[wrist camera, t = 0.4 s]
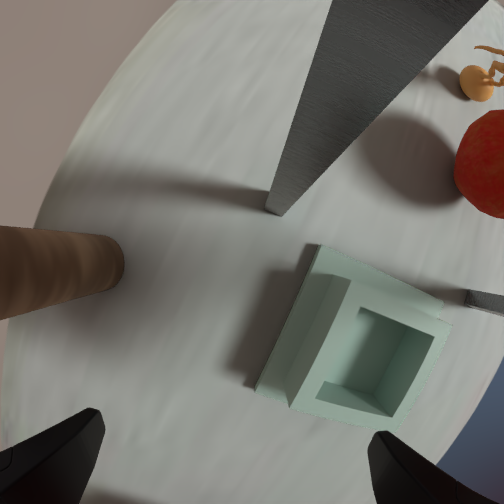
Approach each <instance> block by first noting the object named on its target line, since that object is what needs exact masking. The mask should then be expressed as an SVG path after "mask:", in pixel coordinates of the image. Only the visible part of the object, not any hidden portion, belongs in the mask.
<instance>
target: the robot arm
mask: <svg viewBox="0 0 504 504" xmlns="http://www.w3.org/2000/svg"><path fill="white" fill-rule="evenodd" d="M104 434H105V425H104V421H103V418H102V415H101V412H100V411H99V410H97V409H93V408H86V409H84V410H83V411H81V412H79V413H77V414H75V415H73V416H71V417H70V418H68V419H66V420H64V421H62V422H60V423H58V424H56V425H54V426H52V427H50V428H48V429H47V430H45V431H43V432H41V433H39V434H37V435H35V436H33V437H31V438H29V439H27V440H25V441H23V442H20V443H18V444H16V445H14V446H13V447H10V448H8V449H6V450H3V451H1V452H0V504H79V502H80V500H81V497H82V495H83V492H84V490H85V488H86V485H87V483H88V481H89V478H90V476H91V474H92V472H93V469H94V467H95V464H96V460H97V457H98V454H99V450H100V447H101V444H102V440H103V437H104ZM368 459H369V466H370V472H371V480H372V486H373V491H374V495H375V499H376V502H377V504H499V503H497V502H494V501H493V500H490V499H488V498H486V497H484V496H482V495H480V494H478V493H477V492H475V491H473V490H471V489H470V488H468V487H466V486H465V485H463V484H462V483H460V482H459V481H456V479H454V478H453V477H451V476H450V475H448V474H447V473H446V472H444V471H443V470H441V469H440V468H438V467H437V466H436V465H434V464H433V463H431V462H430V461H428V460H427V459H426V458H424V457H423V456H422V455H420V454H419V453H417V452H416V451H415V450H413V449H412V448H411V447H409V446H408V445H406V444H405V443H404V442H402V441H401V440H400V439H398V438H397V437H396V436H394V435H393V434H392V433H391V432H389V431H387V430H385V431H378V432H376V433H375V434H374V436H373V438H372V440H371V442H370V444H369V446H368Z"/></svg>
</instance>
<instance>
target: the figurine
mask: <svg viewBox="0 0 504 504" xmlns="http://www.w3.org/2000/svg"><path fill="white" fill-rule="evenodd" d="M476 48H478V49H484V50H487V51H489V52H492V53H496V54H501V55H503V56H504V51H503V50H500V49H494V48H492V47H489V46H475V48H474V49H476ZM495 69H496V70H498V71H499V72H501V73H503V74H504V63H500V62H498V61H493V63H492V65H491V68H490V69H489V72H488V73H489V74H488V73H487V72H486V71H485V70H484V69H483V68H481V67H479V66H475V65H470V66H467V67H465V68H464V69H463V70H462V72H461V74H460V85H461V88H462V90H463V92H464V93H465V94H466V95H467V96H468V97H469V98H470V99H472V100H474V101H478V102H483V101H486V100H488V99H489V98H490V97H491V96H492V94H493V90H494V86H497V87H501V86H504V76H503V77H502V78H501V79H500V82H499V83H498V82H495V81H494V80H493V78H492V77H494V76H495Z"/></svg>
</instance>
